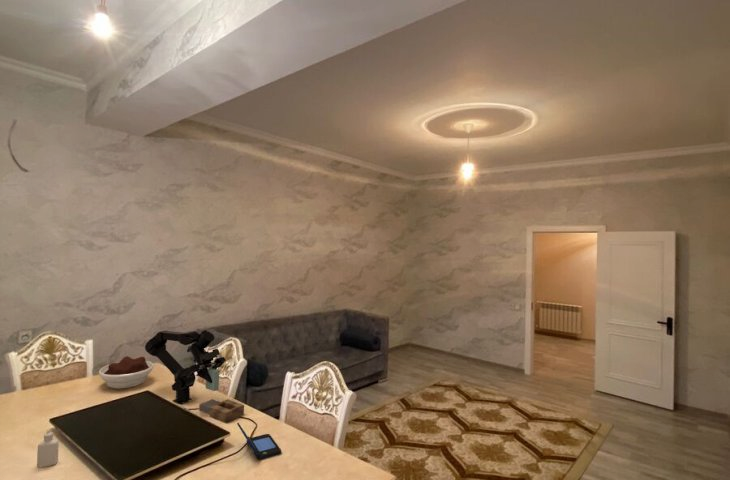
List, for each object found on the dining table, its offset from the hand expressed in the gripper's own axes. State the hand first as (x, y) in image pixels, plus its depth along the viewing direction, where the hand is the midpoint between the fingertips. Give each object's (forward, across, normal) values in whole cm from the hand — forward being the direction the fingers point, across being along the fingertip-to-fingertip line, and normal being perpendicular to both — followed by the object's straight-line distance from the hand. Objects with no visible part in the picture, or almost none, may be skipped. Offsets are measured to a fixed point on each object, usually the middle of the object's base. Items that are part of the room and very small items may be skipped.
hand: (214, 381), depth 179 cm
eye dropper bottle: (+1, -59, +18) cm, 62 cm away
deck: (+9, 0, +11) cm, 14 cm away
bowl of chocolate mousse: (-35, -5, +55) cm, 65 cm away
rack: (+16, 0, +3) cm, 16 cm away
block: (+2, 0, +4) cm, 4 cm away
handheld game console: (+39, -12, -19) cm, 45 cm away
